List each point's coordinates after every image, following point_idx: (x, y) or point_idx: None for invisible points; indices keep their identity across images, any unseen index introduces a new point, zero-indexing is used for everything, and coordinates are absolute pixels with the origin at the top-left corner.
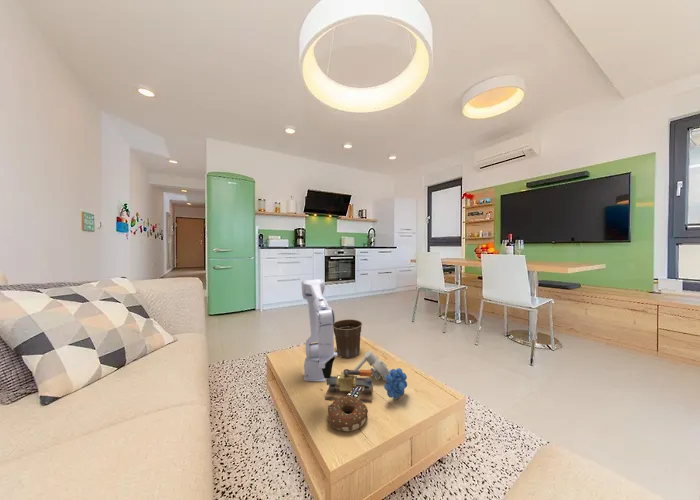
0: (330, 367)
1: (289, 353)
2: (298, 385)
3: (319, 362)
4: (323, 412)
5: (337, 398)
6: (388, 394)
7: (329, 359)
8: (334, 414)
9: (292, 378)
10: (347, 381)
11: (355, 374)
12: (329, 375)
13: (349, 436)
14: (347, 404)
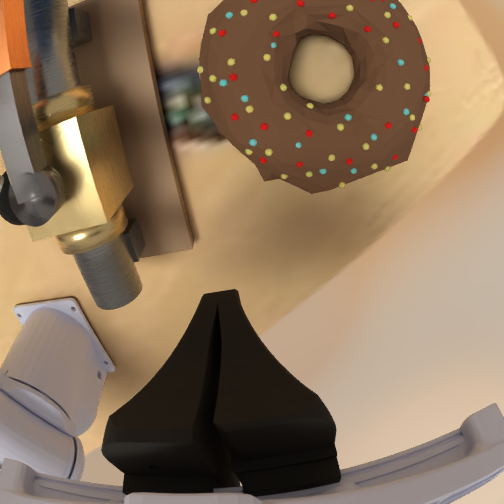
0: (283, 371)
1: None
2: (150, 373)
3: (485, 482)
4: (290, 208)
5: (175, 178)
6: None
7: (403, 489)
8: (406, 132)
9: (126, 400)
10: (95, 150)
11: (28, 107)
12: (240, 308)
13: None
14: (284, 78)
